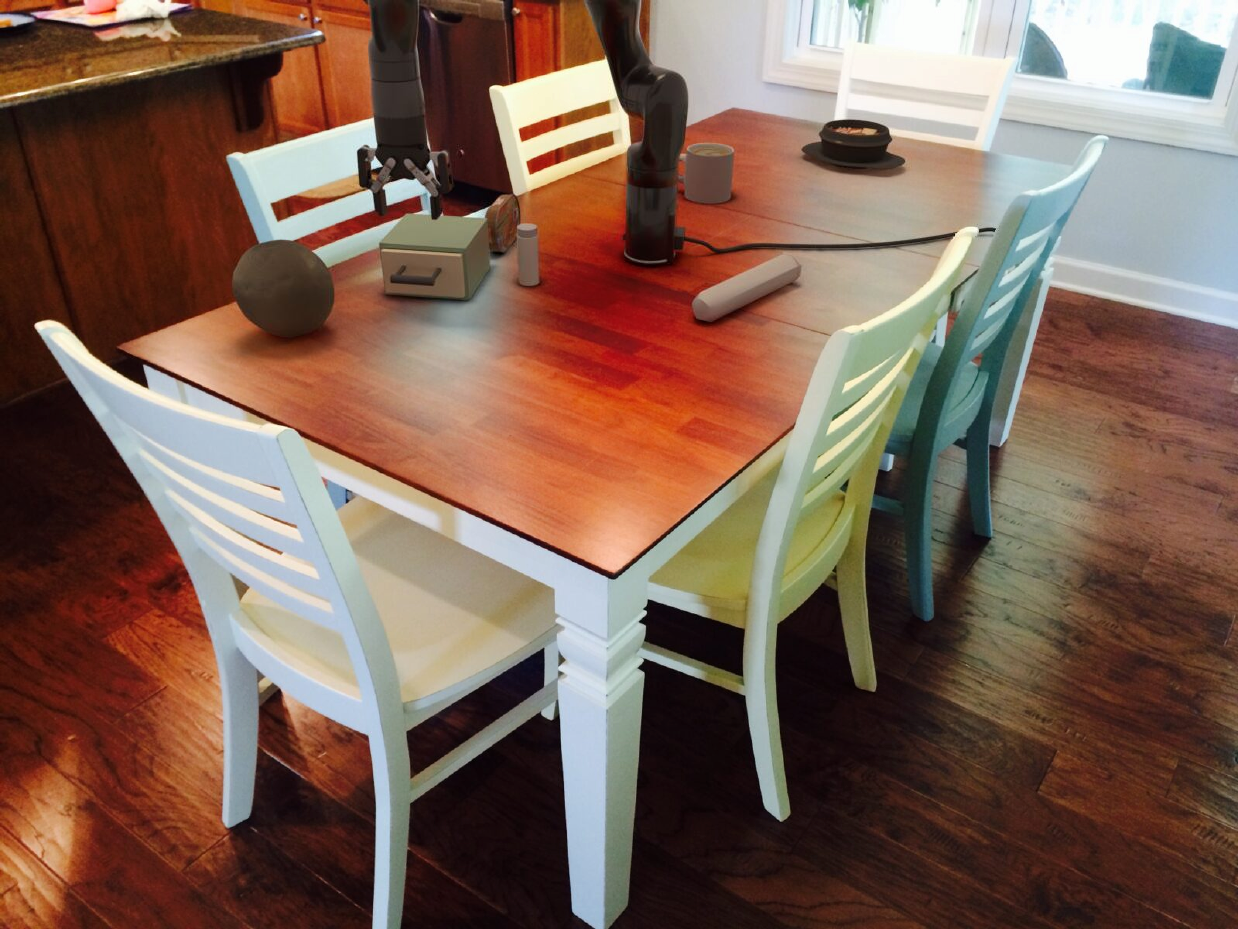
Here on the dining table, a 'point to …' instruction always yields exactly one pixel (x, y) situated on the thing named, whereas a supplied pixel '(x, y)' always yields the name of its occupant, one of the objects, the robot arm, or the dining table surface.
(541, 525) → the dining table surface
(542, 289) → the dining table surface
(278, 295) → the dark brown ball
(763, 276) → the tube
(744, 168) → the dining table surface
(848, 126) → the casserole
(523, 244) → the salt shaker
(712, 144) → the coffee mug
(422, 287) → the drawer
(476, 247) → the cabinet
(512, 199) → the tin
